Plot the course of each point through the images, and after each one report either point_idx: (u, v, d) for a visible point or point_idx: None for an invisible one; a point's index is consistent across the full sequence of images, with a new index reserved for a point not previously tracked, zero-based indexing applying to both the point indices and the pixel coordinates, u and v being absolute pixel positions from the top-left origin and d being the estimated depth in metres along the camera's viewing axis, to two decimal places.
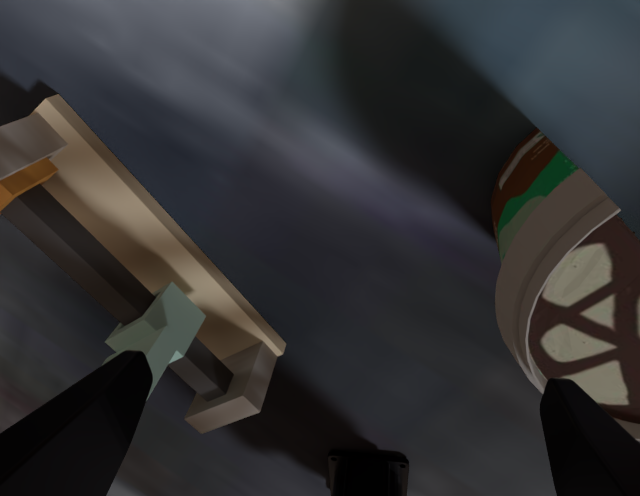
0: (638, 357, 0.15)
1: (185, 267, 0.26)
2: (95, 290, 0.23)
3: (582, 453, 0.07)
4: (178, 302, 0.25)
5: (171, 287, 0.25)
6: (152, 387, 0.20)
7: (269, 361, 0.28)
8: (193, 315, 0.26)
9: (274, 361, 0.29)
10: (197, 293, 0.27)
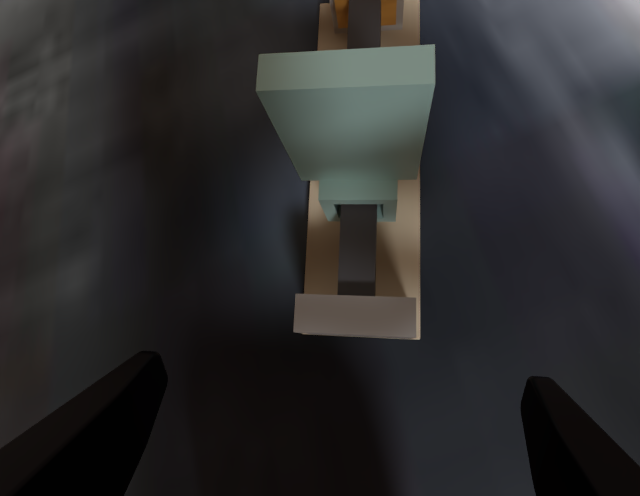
0: None
1: None
2: None
3: (558, 451, 0.07)
4: None
5: None
6: None
7: None
8: None
9: None
10: None
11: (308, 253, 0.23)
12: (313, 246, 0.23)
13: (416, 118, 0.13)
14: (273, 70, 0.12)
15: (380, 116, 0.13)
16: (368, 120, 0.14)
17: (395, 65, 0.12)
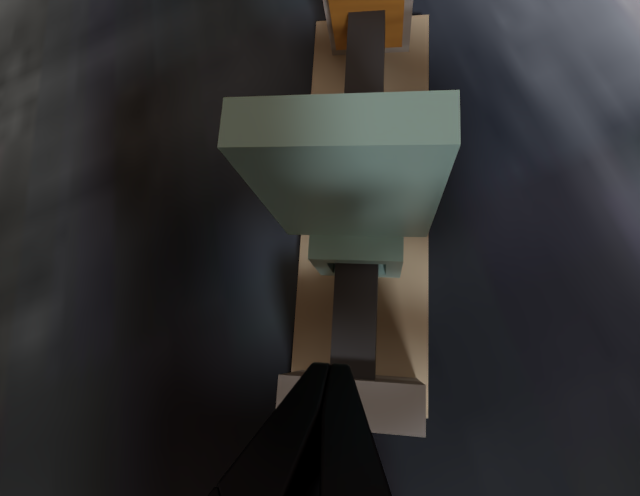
0: None
1: None
2: None
3: None
4: None
5: None
6: None
7: None
8: None
9: None
10: None
11: (298, 309, 0.20)
12: (304, 301, 0.20)
13: (431, 180, 0.10)
14: (241, 120, 0.09)
15: (384, 177, 0.10)
16: (368, 181, 0.10)
17: (406, 117, 0.09)
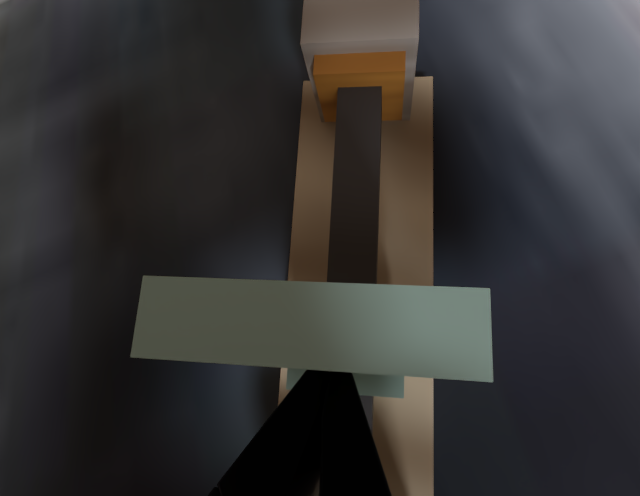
0: None
1: None
2: (344, 241, 0.14)
3: None
4: None
5: None
6: None
7: None
8: None
9: None
10: None
11: None
12: None
13: None
14: (166, 314, 0.06)
15: None
16: None
17: (408, 329, 0.06)
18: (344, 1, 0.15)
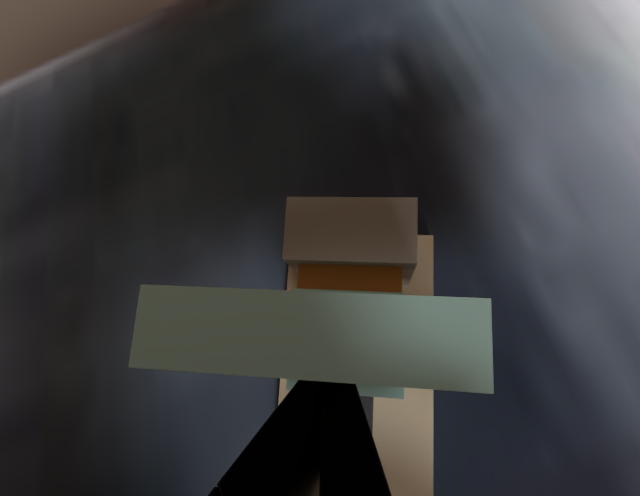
0: None
1: None
2: None
3: None
4: None
5: None
6: None
7: None
8: None
9: None
10: None
11: None
12: None
13: None
14: (164, 324, 0.06)
15: None
16: None
17: (409, 340, 0.06)
18: (333, 207, 0.13)
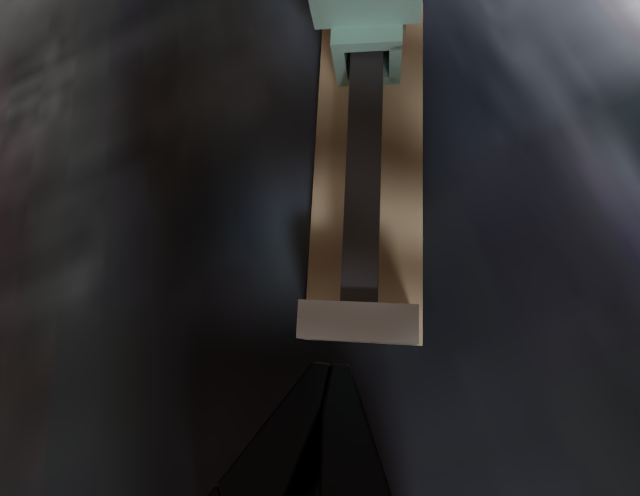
0: None
1: (404, 181, 0.23)
2: (359, 103, 0.21)
3: None
4: None
5: None
6: None
7: None
8: None
9: None
10: (389, 214, 0.23)
11: (310, 258, 0.23)
12: (315, 252, 0.23)
13: None
14: None
15: None
16: None
17: None
18: None
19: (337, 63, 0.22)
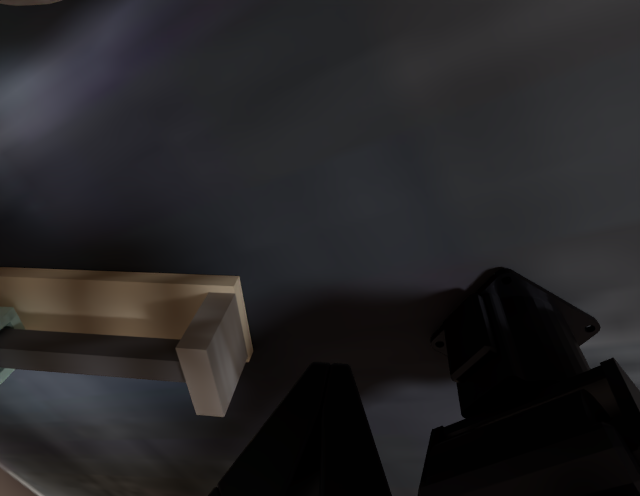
0: None
1: (100, 293, 0.26)
2: (35, 364, 0.25)
3: None
4: None
5: None
6: None
7: (221, 303, 0.24)
8: None
9: (229, 299, 0.24)
10: (132, 304, 0.26)
11: None
12: None
13: None
14: None
15: None
16: None
17: None
18: None
19: (11, 369, 0.26)
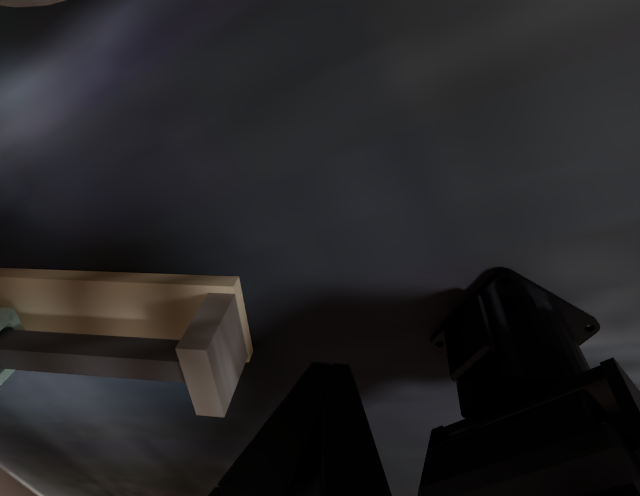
0: None
1: (100, 294, 0.26)
2: (35, 365, 0.25)
3: None
4: None
5: None
6: None
7: (220, 303, 0.24)
8: None
9: (229, 300, 0.24)
10: (132, 305, 0.26)
11: None
12: None
13: None
14: None
15: None
16: None
17: None
18: None
19: (11, 370, 0.26)
